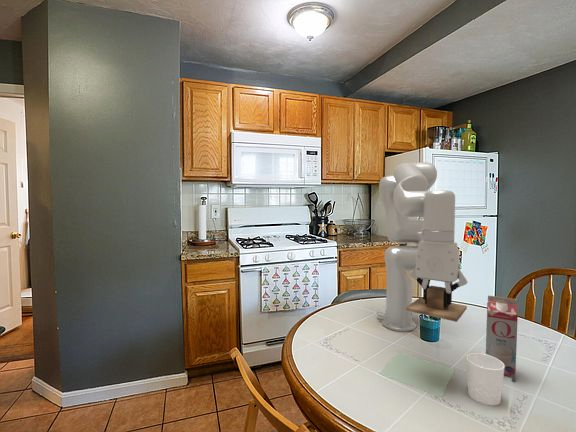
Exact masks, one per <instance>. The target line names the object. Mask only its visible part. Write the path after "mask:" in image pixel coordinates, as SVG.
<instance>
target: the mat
mask: <svg viewBox="0 0 576 432" xmlns="http://www.w3.org/2000/svg"><path fill="white" fill-rule="evenodd" d="M454 372H455V368H453V367H449V366H446V365H443V364H440V363H436V362H434V361H430V360H426V359H423V358H420V357H417V356H414V355H410V354H407V353H405V352H401V351H398V352H397V353H396V354H395V355H394V356H393V358H391V360H390V361H389V362H388V363H387V364H386V365H385V366H384V368H383V369H382V370H381V371H380V372H379V373H378V374H379V375H381V376H384V377H387V378H389V379H391V380H394V381H397V382H399V383H402V384H404V385H407V386H410V387H414V388H416V389H419V390H421V391H424V392H427V393H428V394H432V395H434V396H437V397H440V398H443V395H444V393H445V391H446V389H447V387H448V385H449V382H450V381H451V379H452V377H453V375H454Z"/></svg>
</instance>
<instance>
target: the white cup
mask: <svg viewBox="0 0 576 432" xmlns="http://www.w3.org/2000/svg"><path fill="white" fill-rule="evenodd" d="M465 357H466V359H465V361H466V382H467V383H466V384H467V385H466V386H467V393H468V395H469V396H470V398H471V399H473V400H474V401H476V402H478V403H480V404H483V405H488V406H498V405H500V404H501V401H502V394H503V386H504V377H505V376H504V368H505V365H504V363H503V362H502V361H500V360H499V359H497V358H495V357H493V356H490V355H486V353H480V352H471V353H468V354H467V355H466V356H465Z"/></svg>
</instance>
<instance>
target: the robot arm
mask: <svg viewBox="0 0 576 432" xmlns="http://www.w3.org/2000/svg"><path fill="white" fill-rule="evenodd" d="M437 178H438V171H437V168H436V166H435V165H434V164H433V163H431V162H428V161H426V162H424V161H423V162H422V161H420V162H414V161H413V162H402V163H399V164H398V165H397V166H396V167H395V168H394V170H393V174H392V175H386V176H383V177H382V178H381V179H380V181H379V185H378V191H379V197H380V200H381V202H382V206H383V208H384V210H385V211H384V212H385V226H386V235H387V236H386V237H387V239H388V241H389V242H391V243H394V244H414V245H411V246H410V245H394V246H389V247H387V249H385V251H384V255H383V256H384V263H385V274H386V290H385V291H386V292H385V295H386V299H385V304H386V305H385V310H381V309H377V310H376V315H377V317H380V318H382V319H381V325H382V326H384V327H385V328H387V329H389V330H391V331H395V332H403V333H404V332H406V333H407V332H412V331H414V330H416V326H417V325H416V323H415V321H413V320H412V319H413V318H412V317H413V316H412V315H413V314H412V313H413V312H411V311H406V307H408V306H409V305H410V304H412V303H413V281H412V279H414V280H415V281H416V282H417V283H418V284H419V285H420V286H421V288H422V291H423V293H422V294H423V295H422V297H423V299H424V300H425V304H427V288H429V287H430V286H431V285H430V283H431V280H432V281H437V282H442V283H443V282H444V288H446V290H445V293H444V308H447V307H448V306H449V305H451V303H453V301H452V297H453V296H452V295H453V293H452V292H454V291H455V290H457V289H458V288H460V287H463V286H465V285H467V284H468V280H467V279H466V276H464V274H463V272H462V271H461V262H460V253H459V246H458V243H457V242H455V230H456V229H455V225H456V224H455V223H456V195H455V193H454V192H453V191H452V190H430V189H431V188H432V187H433V186H434V184H435V183H436V181H437ZM411 217H412V218H414V217H415V218H420V217H421V218H422V219H410V218H411ZM407 271H408V272H410V271H411V273H410V276H409V275H408V274H407V273H406V272H407ZM410 277H412V279H411V278H410ZM457 280H458V281H457ZM456 281H457V282H456Z"/></svg>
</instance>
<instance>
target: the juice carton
mask: <svg viewBox="0 0 576 432" xmlns="http://www.w3.org/2000/svg"><path fill="white" fill-rule="evenodd" d="M517 303H518V299H516V298H510V297H502V296H496V295H487V303H486V333H485V334H486V336H485V354H486V355H490V356H493V357H495V358H497V359H499V360H500V361H502V362H503V363H504V365H505V368H504V377H507V378H511V382H513V383H516V373H517V372H516V371H517V369H516V368H517V345H518V343H517V341H518V340H517V339H518V320H519V319H518V317H519V316H518V306H517Z"/></svg>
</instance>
